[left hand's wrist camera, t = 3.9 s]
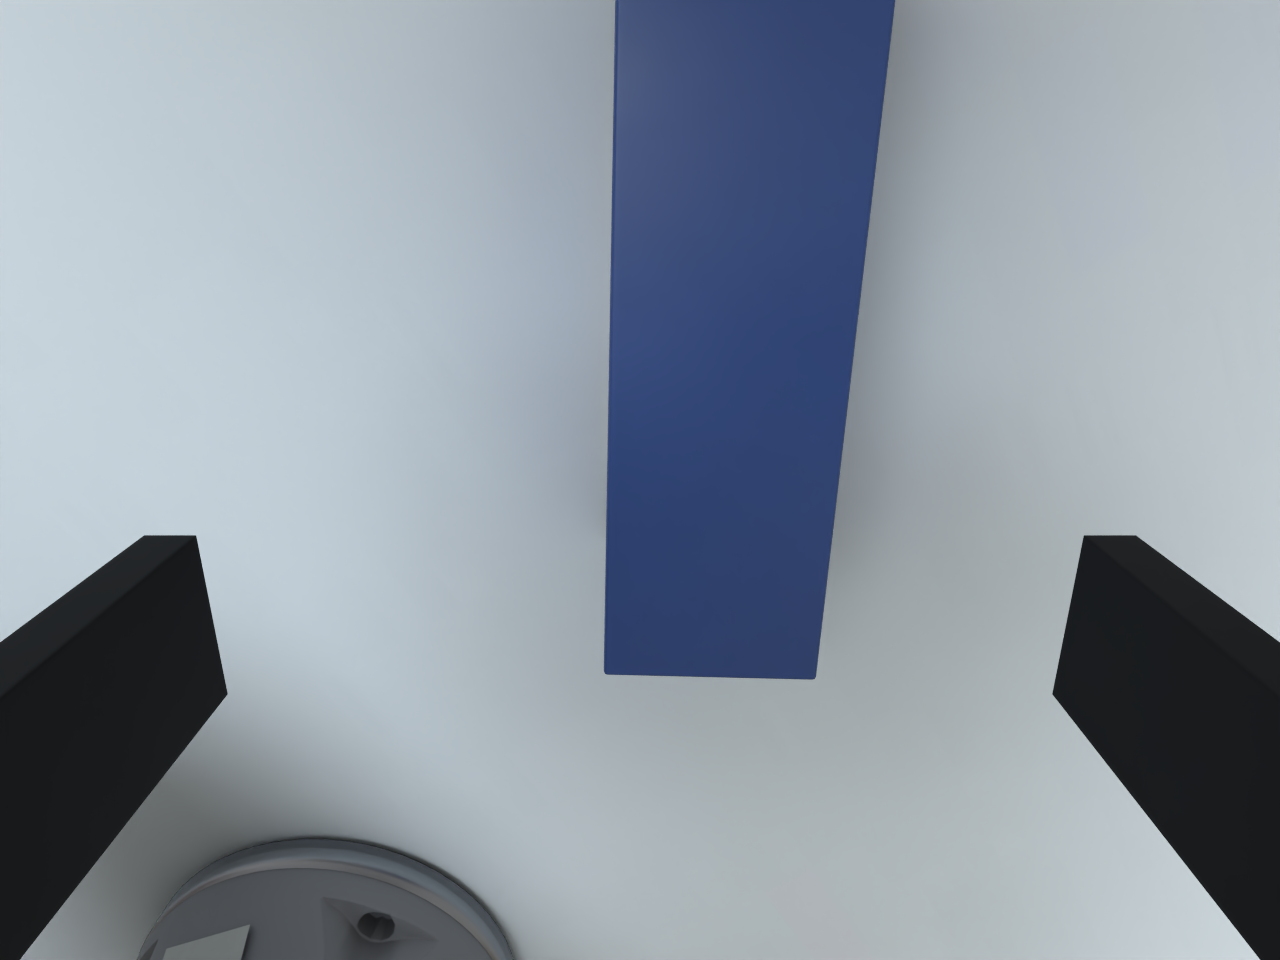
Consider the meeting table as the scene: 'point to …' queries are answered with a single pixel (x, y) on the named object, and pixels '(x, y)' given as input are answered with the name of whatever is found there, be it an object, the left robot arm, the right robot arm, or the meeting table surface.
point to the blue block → (733, 322)
